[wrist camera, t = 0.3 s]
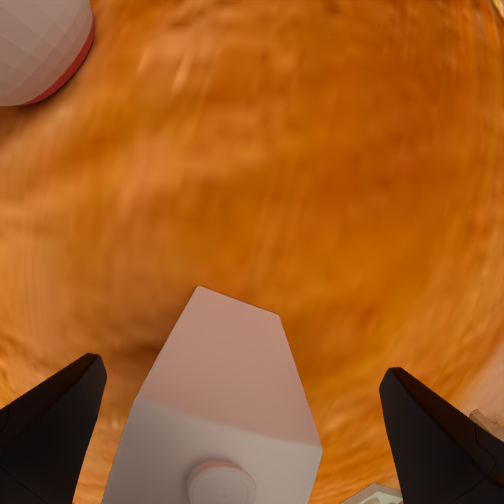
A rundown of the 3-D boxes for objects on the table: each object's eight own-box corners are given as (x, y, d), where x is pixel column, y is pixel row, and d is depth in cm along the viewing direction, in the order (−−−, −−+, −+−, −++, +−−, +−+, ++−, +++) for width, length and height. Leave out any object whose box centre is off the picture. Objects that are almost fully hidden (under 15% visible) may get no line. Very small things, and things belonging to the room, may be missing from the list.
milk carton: (248, 380, 24) (256, 580, 6) (173, 354, 24) (95, 544, 5) (279, 314, 23) (351, 528, 5) (198, 284, 23) (91, 482, 4)
